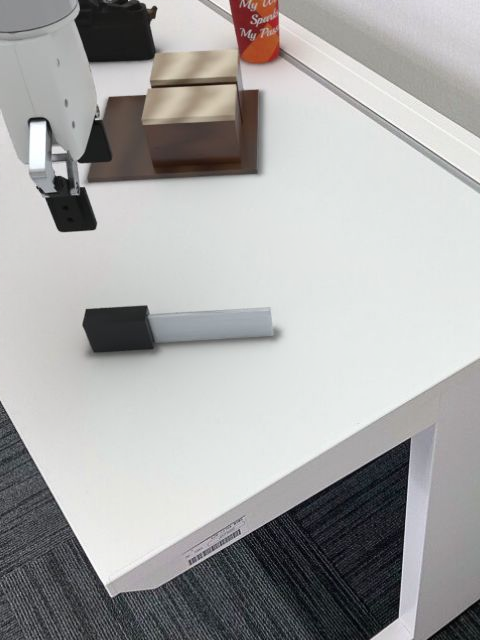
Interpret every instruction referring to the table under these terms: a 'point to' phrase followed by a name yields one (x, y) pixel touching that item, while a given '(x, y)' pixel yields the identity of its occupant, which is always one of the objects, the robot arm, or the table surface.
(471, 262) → the table surface
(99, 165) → the blocks on base plate
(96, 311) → the knife
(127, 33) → the film camera
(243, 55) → the coffee cup
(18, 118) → the robot arm
